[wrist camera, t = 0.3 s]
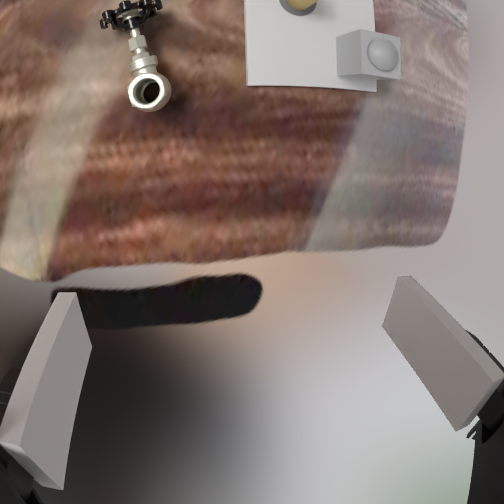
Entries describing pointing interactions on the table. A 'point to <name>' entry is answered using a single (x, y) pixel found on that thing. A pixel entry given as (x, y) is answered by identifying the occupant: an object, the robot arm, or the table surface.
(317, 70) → the plate
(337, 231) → the table surface
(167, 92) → the valve
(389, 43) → the cube with dome button
